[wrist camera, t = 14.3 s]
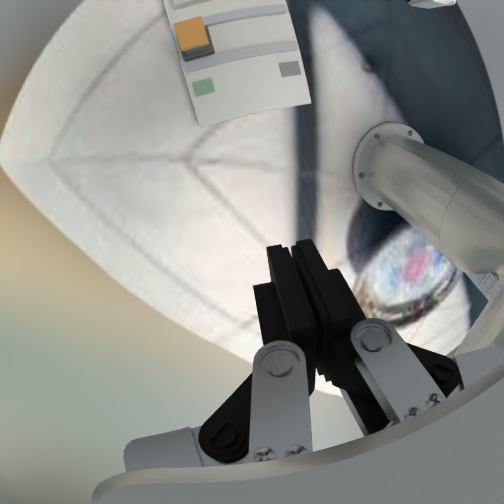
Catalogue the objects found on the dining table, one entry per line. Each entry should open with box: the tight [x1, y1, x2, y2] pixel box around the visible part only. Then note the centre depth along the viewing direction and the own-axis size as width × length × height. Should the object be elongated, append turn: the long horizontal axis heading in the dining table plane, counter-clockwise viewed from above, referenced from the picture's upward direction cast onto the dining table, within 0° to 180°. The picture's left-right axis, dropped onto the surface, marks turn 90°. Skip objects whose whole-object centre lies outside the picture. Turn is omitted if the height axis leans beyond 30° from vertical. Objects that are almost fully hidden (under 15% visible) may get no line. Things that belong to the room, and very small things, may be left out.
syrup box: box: [465, 272, 499, 301], centre depth 41 cm, size 6×6×14 cm
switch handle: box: [174, 16, 215, 62], centre depth 18 cm, size 3×3×6 cm
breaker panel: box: [163, 0, 311, 128], centre depth 20 cm, size 12×18×4 cm, turn 13°
